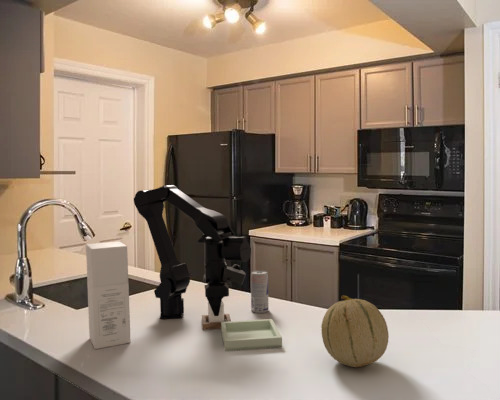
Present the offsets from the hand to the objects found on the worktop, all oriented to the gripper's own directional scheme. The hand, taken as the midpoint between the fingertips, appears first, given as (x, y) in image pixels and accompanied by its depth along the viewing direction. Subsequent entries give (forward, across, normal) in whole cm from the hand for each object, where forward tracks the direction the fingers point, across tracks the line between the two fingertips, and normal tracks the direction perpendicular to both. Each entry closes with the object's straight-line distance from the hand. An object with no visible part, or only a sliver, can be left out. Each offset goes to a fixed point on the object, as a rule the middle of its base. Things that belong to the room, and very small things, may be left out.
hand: (216, 313), depth 130 cm
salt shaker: (+3, 0, 0) cm, 3 cm away
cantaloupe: (+3, -32, -29) cm, 43 cm away
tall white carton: (+3, -8, +28) cm, 29 cm away
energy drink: (+3, +10, -14) cm, 17 cm away
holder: (+3, 0, 0) cm, 3 cm away
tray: (+3, -13, -8) cm, 16 cm away
